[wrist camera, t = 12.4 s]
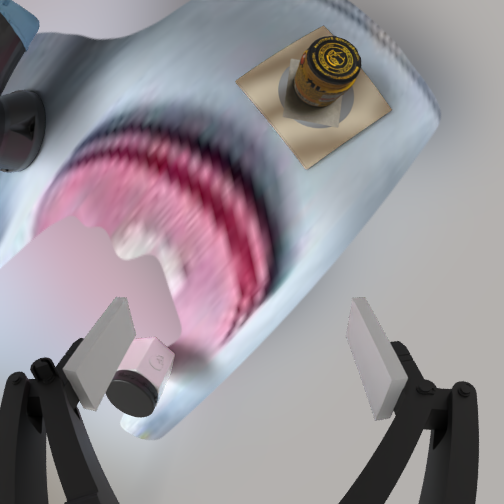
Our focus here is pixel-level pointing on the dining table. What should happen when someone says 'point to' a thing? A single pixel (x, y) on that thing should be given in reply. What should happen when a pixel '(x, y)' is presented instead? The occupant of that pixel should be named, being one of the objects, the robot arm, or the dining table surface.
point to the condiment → (321, 81)
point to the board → (302, 132)
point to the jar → (141, 377)
